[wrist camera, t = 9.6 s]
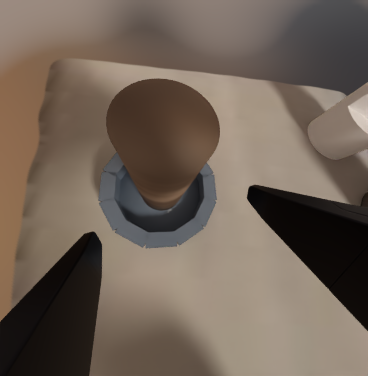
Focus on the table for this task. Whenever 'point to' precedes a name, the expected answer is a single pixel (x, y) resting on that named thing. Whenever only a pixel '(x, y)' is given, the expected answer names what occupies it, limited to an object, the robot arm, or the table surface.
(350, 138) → the cylinder with rectangular tab
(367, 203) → the pillar candle
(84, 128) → the table surface
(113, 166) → the ceramic ring dish
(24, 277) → the table surface
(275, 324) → the table surface
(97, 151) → the table surface
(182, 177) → the brown tapered cylinder
